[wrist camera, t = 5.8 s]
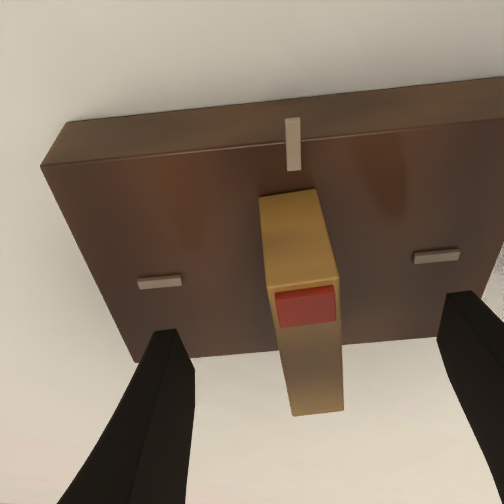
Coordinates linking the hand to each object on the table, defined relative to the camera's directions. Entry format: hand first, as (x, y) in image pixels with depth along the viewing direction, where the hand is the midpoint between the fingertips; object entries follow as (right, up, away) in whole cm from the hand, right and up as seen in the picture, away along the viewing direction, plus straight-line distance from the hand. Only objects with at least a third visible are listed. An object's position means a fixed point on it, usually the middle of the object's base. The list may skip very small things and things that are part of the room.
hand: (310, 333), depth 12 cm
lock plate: (0, +3, +4) cm, 5 cm away
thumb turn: (0, +2, +2) cm, 3 cm away
